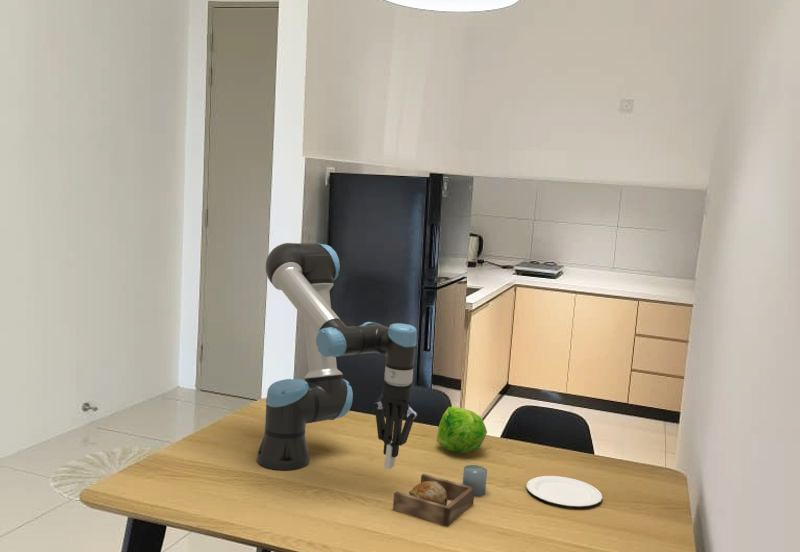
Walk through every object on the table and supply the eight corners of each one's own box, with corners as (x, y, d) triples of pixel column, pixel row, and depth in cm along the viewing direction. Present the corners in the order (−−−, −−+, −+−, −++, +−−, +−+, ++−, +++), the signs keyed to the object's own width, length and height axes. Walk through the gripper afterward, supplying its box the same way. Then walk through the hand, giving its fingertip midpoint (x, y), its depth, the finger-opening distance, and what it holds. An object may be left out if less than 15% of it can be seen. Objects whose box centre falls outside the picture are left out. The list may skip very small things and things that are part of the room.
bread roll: (438, 528, 181) (454, 502, 181) (403, 507, 182) (419, 481, 181) (439, 511, 191) (454, 487, 190) (405, 492, 191) (420, 467, 191)
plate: (604, 489, 207) (604, 483, 207) (599, 517, 187) (600, 511, 187) (531, 475, 214) (532, 470, 213) (520, 501, 194) (520, 495, 194)
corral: (392, 509, 182) (394, 492, 181) (422, 489, 196) (423, 473, 195) (447, 526, 174) (448, 508, 174) (473, 504, 189) (474, 487, 188)
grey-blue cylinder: (458, 492, 196) (460, 469, 195) (467, 485, 201) (469, 463, 201) (479, 498, 193) (481, 475, 192) (488, 491, 198) (490, 468, 198)
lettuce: (469, 440, 242) (484, 404, 239) (479, 470, 223) (495, 432, 220) (429, 427, 240) (443, 392, 237) (434, 457, 221) (450, 419, 218)
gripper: (369, 379, 190) (361, 464, 193) (412, 390, 184) (403, 478, 187) (384, 374, 197) (376, 456, 200) (426, 385, 190) (417, 469, 193)
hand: (389, 467), depth 193 cm, fingers closed
